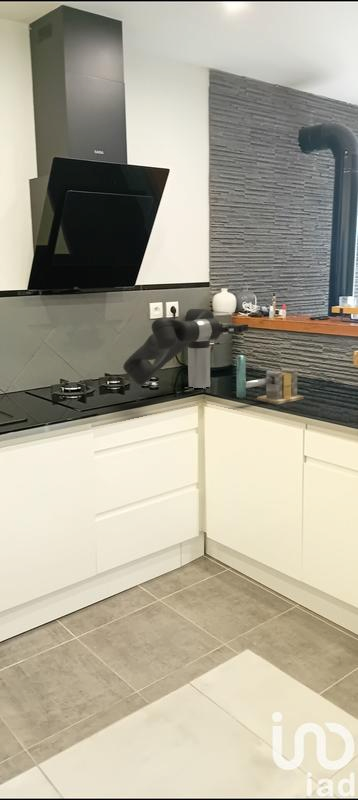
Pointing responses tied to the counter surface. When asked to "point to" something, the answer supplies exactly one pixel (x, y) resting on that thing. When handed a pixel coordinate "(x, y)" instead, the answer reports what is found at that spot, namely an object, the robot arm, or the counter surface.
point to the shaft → (241, 378)
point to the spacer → (286, 384)
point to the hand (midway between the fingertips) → (239, 326)
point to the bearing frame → (280, 388)
